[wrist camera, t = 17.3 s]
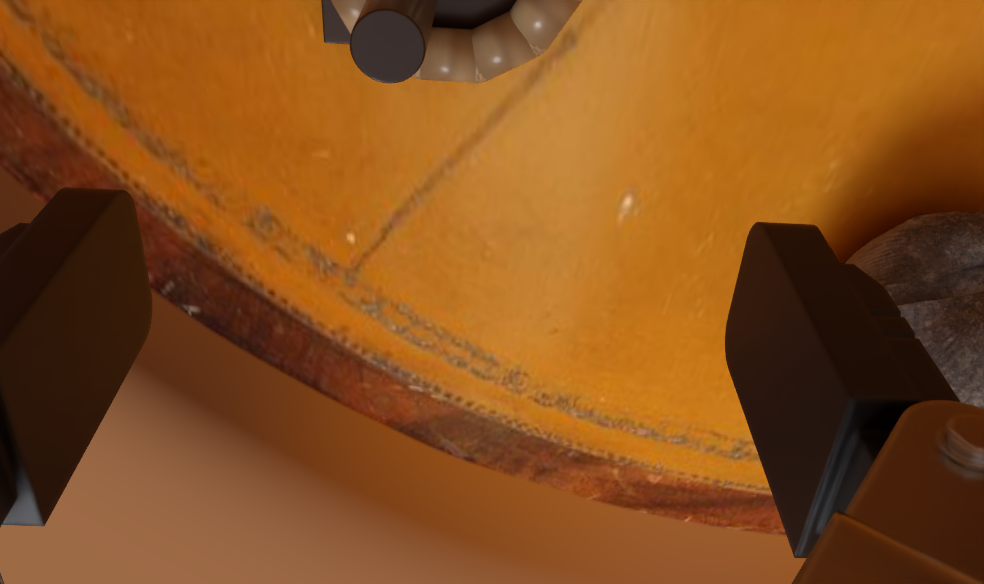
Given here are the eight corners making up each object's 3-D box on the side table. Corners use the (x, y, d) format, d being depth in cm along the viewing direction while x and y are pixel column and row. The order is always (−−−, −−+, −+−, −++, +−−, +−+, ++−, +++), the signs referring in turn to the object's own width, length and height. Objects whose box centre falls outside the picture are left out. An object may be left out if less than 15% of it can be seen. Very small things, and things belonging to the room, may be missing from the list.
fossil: (1154, 228, 41) (1320, 364, 32) (975, 445, 48) (1072, 601, 40) (854, 134, 38) (949, 256, 30) (715, 377, 46) (760, 528, 38)
